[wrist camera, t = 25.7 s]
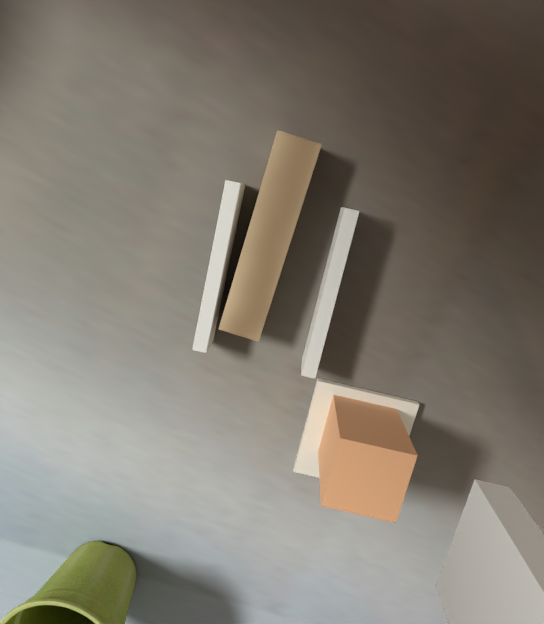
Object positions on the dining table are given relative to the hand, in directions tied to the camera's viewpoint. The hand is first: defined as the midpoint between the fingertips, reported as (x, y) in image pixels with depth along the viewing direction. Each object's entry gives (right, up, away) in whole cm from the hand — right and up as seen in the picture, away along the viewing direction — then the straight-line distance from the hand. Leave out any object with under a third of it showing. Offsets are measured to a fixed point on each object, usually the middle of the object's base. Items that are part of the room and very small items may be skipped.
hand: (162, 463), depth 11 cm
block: (+9, -6, +28) cm, 30 cm away
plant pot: (-13, -19, +33) cm, 40 cm away
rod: (+2, +9, +26) cm, 27 cm away
